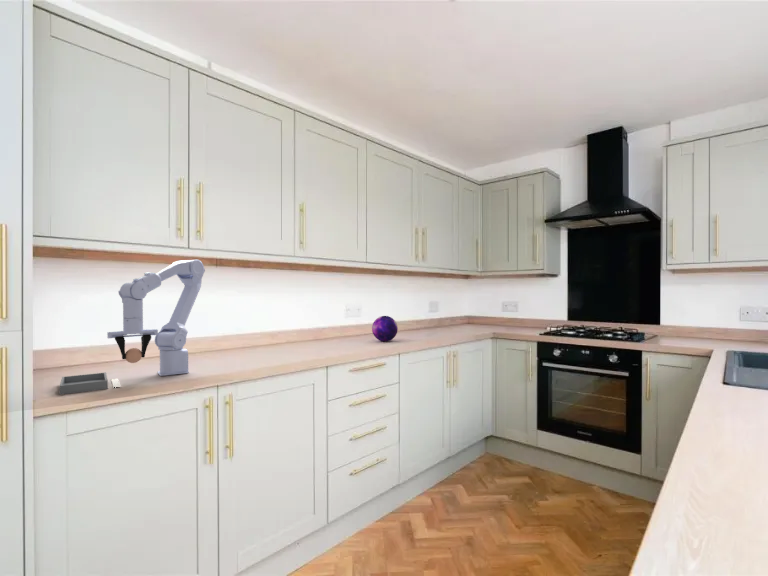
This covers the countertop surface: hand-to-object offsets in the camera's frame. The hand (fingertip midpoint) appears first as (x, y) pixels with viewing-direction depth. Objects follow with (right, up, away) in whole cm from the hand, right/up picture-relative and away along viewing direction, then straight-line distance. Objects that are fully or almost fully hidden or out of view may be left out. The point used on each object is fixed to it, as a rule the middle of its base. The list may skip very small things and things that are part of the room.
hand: (133, 358), depth 141 cm
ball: (0, +1, 0) cm, 1 cm away
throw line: (-5, -8, -2) cm, 10 cm away
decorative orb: (+85, -8, +103) cm, 134 cm away
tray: (-12, -8, -7) cm, 16 cm away
